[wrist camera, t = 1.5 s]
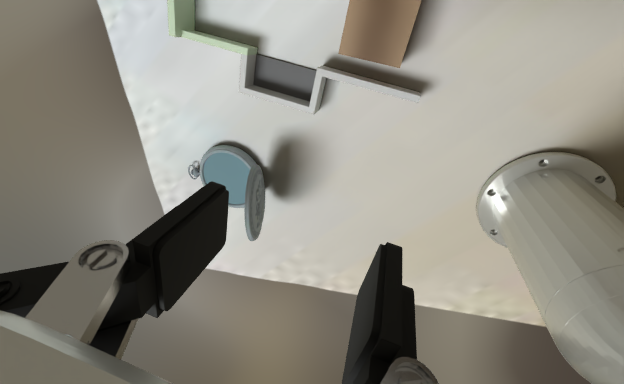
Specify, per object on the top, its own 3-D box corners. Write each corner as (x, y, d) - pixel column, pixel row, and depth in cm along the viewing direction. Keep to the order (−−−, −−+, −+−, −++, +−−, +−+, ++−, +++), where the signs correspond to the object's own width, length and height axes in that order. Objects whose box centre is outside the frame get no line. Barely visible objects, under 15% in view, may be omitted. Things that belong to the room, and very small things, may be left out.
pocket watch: (251, 259, 34) (147, 236, 38) (283, 211, 43) (197, 196, 47) (244, 185, 29) (125, 166, 33) (282, 149, 39) (186, 137, 42)
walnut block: (421, -4, 27) (424, -9, 24) (400, 64, 30) (399, 68, 27) (360, -16, 28) (354, -23, 24) (345, 51, 31) (338, 53, 28)
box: (494, -96, 23) (508, -115, 20) (402, 134, 33) (402, 144, 30) (186, -153, 26) (158, -176, 23) (189, 71, 37) (170, 74, 34)
